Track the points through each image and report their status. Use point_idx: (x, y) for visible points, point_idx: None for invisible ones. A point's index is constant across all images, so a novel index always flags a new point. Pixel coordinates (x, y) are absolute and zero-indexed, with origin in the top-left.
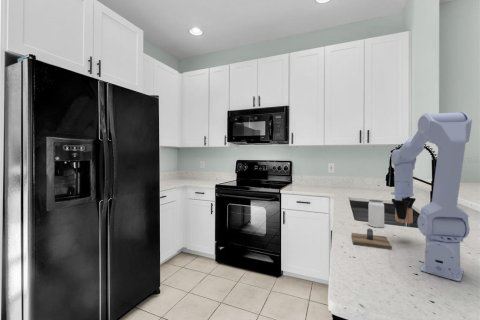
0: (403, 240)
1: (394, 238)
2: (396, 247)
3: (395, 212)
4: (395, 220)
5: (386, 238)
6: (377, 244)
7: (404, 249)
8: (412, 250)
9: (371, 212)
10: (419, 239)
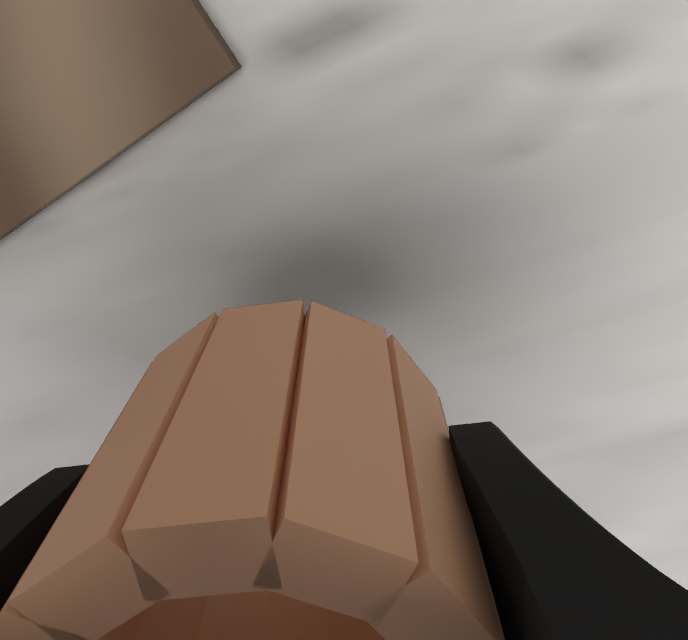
0: (403, 247)
1: (397, 135)
2: (33, 305)
3: (141, 433)
4: (207, 319)
5: (145, 129)
6: None
7: (55, 379)
8: (105, 433)
9: None
10: (624, 345)
